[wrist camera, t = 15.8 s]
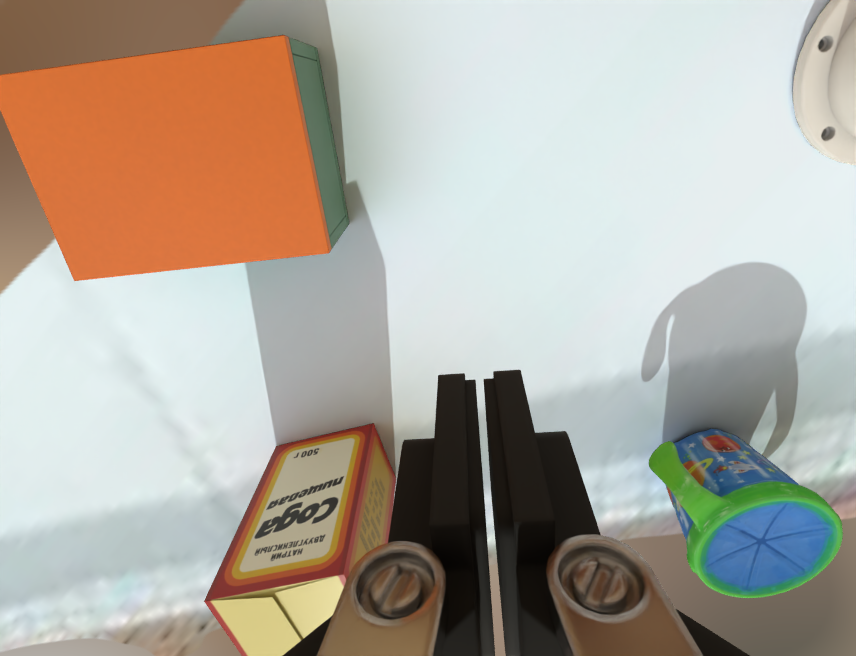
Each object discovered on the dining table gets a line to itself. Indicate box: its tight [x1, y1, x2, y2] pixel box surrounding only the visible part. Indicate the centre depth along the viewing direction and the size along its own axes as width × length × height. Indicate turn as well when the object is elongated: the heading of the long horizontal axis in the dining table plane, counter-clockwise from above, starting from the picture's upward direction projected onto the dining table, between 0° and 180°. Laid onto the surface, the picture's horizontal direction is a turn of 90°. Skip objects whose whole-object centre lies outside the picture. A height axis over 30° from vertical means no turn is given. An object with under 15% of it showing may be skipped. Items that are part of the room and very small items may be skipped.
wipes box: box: [289, 37, 349, 249], centre depth 33 cm, size 16×12×7 cm
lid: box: [0, 35, 331, 281], centre depth 29 cm, size 16×12×1 cm
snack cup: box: [649, 429, 843, 598], centre depth 41 cm, size 16×10×10 cm
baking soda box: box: [204, 423, 396, 656], centre depth 40 cm, size 10×6×16 cm
